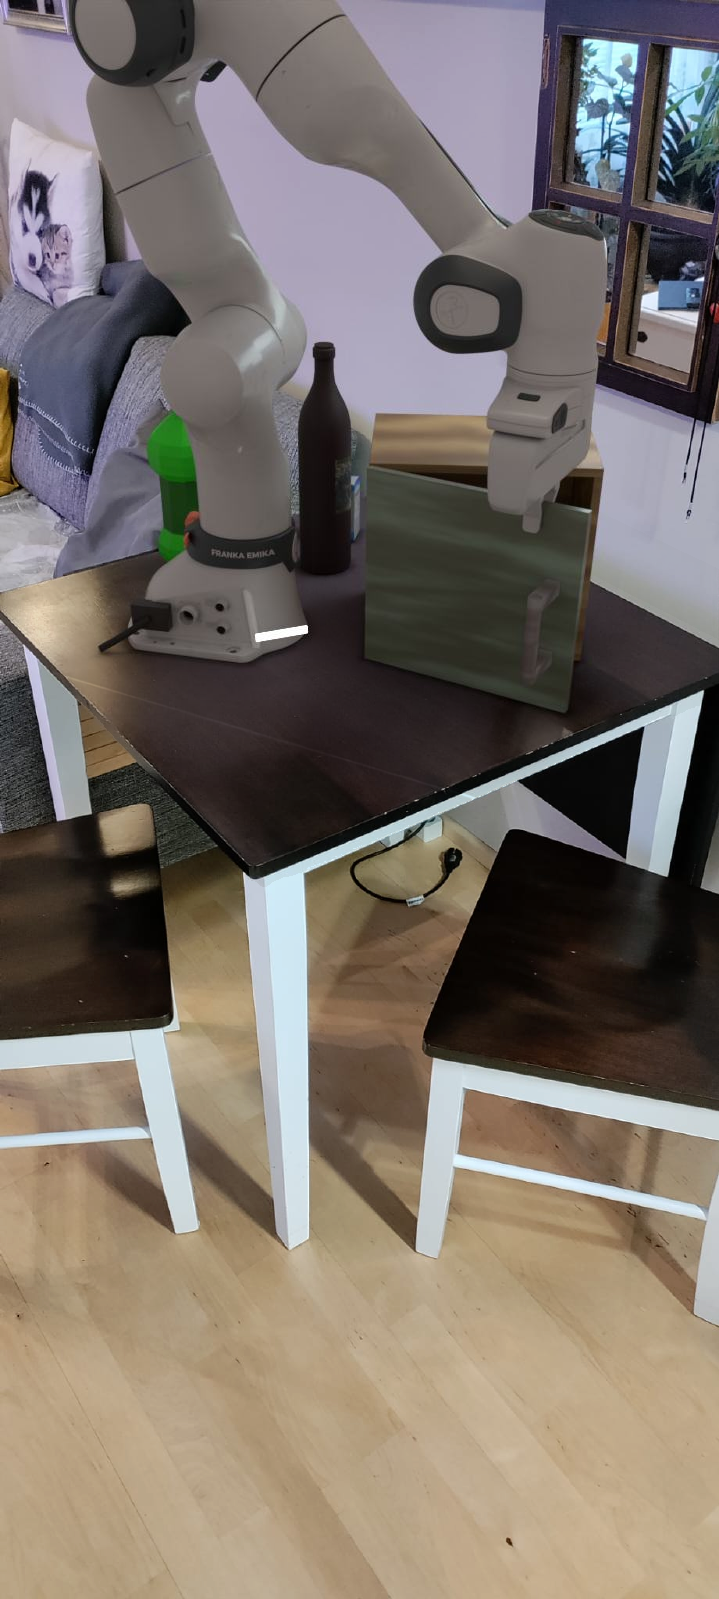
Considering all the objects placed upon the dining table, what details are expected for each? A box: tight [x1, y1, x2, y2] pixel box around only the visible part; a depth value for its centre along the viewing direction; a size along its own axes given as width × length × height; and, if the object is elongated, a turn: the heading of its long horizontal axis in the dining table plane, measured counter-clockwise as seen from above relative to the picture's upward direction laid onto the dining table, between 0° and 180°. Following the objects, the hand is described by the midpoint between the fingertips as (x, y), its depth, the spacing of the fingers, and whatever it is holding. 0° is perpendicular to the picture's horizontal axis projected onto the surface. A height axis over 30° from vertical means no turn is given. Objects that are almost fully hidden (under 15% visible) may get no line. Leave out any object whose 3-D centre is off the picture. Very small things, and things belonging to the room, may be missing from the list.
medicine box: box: [351, 475, 361, 542], centre depth 177 cm, size 8×4×9 cm, turn 80°
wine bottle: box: [297, 341, 352, 575], centre depth 162 cm, size 7×7×30 cm
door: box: [364, 465, 592, 714], centre depth 134 cm, size 7×26×24 cm, turn 60°
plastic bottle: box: [146, 409, 199, 563], centre depth 162 cm, size 10×10×25 cm
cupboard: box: [368, 412, 605, 661], centre depth 149 cm, size 18×26×24 cm
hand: (536, 526), depth 128 cm, fingers closed on door
